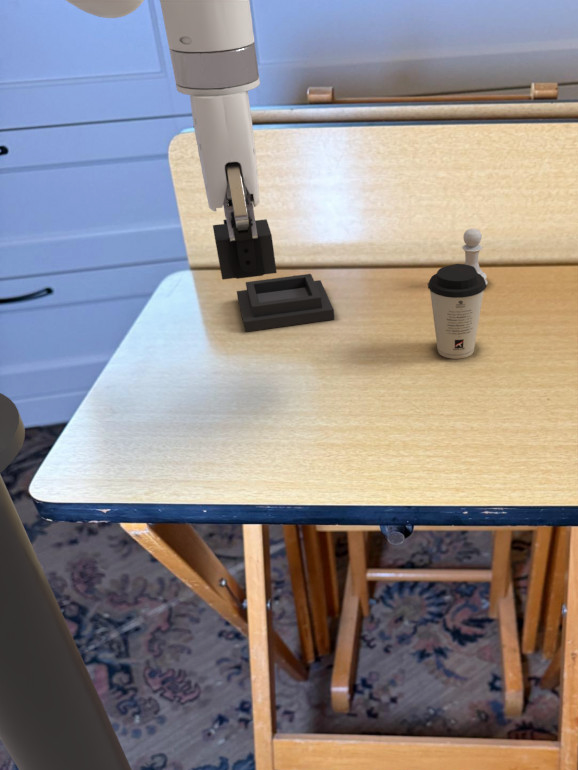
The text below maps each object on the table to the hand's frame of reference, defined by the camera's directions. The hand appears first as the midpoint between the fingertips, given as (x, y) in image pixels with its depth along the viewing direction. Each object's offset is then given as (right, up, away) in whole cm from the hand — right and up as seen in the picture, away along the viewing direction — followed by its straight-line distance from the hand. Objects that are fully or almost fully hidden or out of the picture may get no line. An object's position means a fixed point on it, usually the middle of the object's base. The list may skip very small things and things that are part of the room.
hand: (246, 264), depth 83 cm
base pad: (0, +3, +27) cm, 27 cm away
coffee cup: (+23, -5, +17) cm, 29 cm away
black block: (0, 0, 0) cm, 0 cm away
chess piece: (+26, +7, +31) cm, 42 cm away
